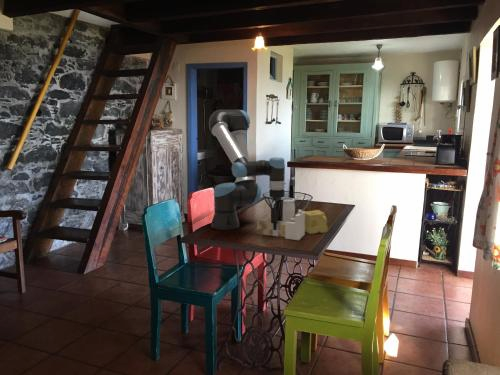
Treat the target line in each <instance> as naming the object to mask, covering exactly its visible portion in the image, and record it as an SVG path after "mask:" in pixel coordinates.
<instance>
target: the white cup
mask: <svg viewBox="0 0 500 375" xmlns="http://www.w3.org/2000/svg"><path fill="white" fill-rule="evenodd" d="M281 199H282V200H283V221H281V223H285V222H290V219H291V218H295V215H296V213H295V211H296V206H295V205H296V204H295V202H296V200H295V199H296V198H292V197H285V196H284V197H282V198H281Z"/></svg>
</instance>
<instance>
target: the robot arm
mask: <svg viewBox="0 0 500 375" xmlns="http://www.w3.org/2000/svg"><path fill="white" fill-rule="evenodd" d="M250 124H251V119H250V116H249V115H248V113H247V112H246V111H245V110H243V109H217V110H215V111H214V112H213V113H212V114H210V117H209V121H208V126H209V131H210V132H211V134H212V136H214V137H216V138H217V140H218V142H219V143H220V146H221V147H222V149H223V151H224V152H225V154H226V155H227V157H228V159H229V160H230V162H231V164H232V165H231V173H232V175H233V176H234V178H235V181H234V182H223V183H220V184H217V185H215V187H214V189H213V201H214V202H213V203H214V205H213V206H214V207H213V208H214V212H213V217H212V220H211V228H212V229H214V230H219V231H220V230H223V231H228V230H234V229H235V230H236V229H238V228H239V227H240V221H239V218H238V214H237V207H243V206H251V205H255V204H257V203H258V202H259V201H260V199H261V197H262V188H261V186H260V184H259V183H258V182H256V180H255V178H254V177H260V176H269V186H268V187H269V197H270V198H272V201H271V203H270V222H271V223H273V237H279V236H278V222H279V223H281V221H283V200H282V199H281V198H283V197H285V192H286V191H285V185H286V182H285V174H286V172H285V169H286V165H285V158H284V157H270V158H269V160H266V159H259V160H255V161H254V160H252V161H250V159H249V158H250V157H249V150H248V145H247V140H246V138H247V137H246V134H247V133H248V130H249V129H250Z"/></svg>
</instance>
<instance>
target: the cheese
mask: <svg viewBox="0 0 500 375" xmlns="http://www.w3.org/2000/svg"><path fill="white" fill-rule="evenodd" d="M305 233H307V234H310V235H314V234H318V233H321V234H322V233H328V218H327V217H326V215H325V213H324V212H323V211H322V210H320V209H313V210H310V211H309V210H307V211H305Z"/></svg>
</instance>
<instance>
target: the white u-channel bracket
mask: <svg viewBox="0 0 500 375" xmlns="http://www.w3.org/2000/svg"><path fill="white" fill-rule="evenodd" d="M305 212H306V211H305V210H304V211H303V210H302V209H298V210H297V214H296V213H295V214H294V218H291V219H290V222H285V237H284V239H286V240H295V241H300V240H301V239H302V238H303V237H304V236H305V233H306V232H305Z"/></svg>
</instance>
